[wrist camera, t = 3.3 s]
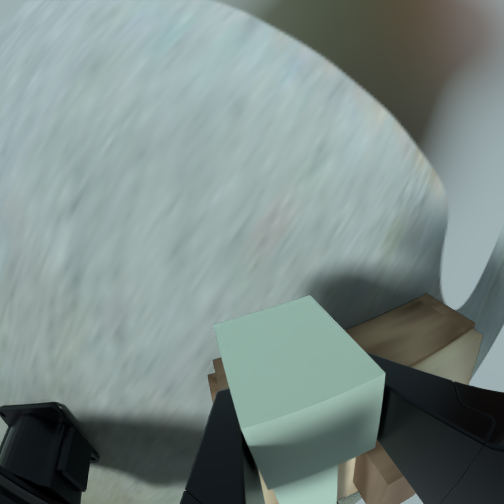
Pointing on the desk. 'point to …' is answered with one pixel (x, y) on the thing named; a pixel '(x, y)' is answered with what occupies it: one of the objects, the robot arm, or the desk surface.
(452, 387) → the robot arm
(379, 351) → the box
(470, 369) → the lid
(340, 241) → the desk surface
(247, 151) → the desk surface
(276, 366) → the key
